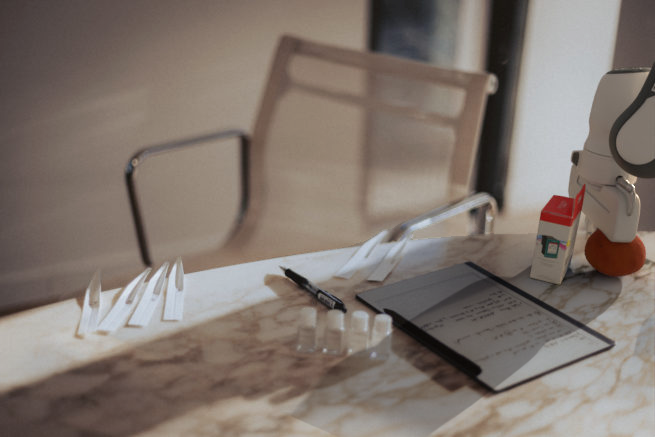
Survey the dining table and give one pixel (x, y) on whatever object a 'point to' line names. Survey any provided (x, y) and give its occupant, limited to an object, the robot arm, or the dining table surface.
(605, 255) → the fruit
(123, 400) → the dining table surface
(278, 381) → the dining table surface
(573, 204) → the ink box
